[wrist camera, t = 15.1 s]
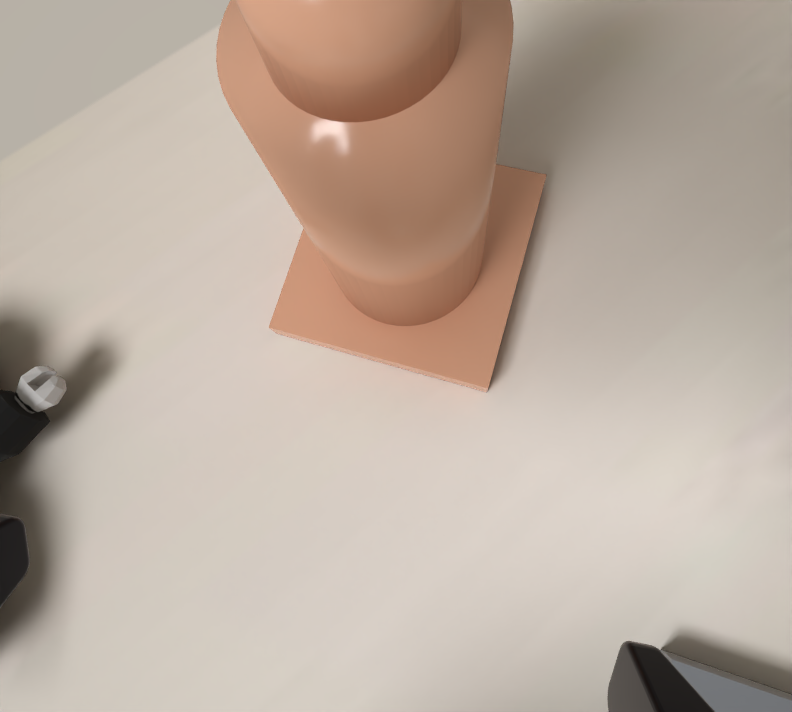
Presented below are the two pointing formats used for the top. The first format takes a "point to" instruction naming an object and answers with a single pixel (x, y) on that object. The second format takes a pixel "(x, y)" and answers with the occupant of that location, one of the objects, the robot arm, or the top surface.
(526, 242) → the terracotta tile
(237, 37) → the terracotta vase
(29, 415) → the robot toy
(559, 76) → the top surface
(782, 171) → the top surface
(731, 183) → the top surface
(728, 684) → the slate tile
